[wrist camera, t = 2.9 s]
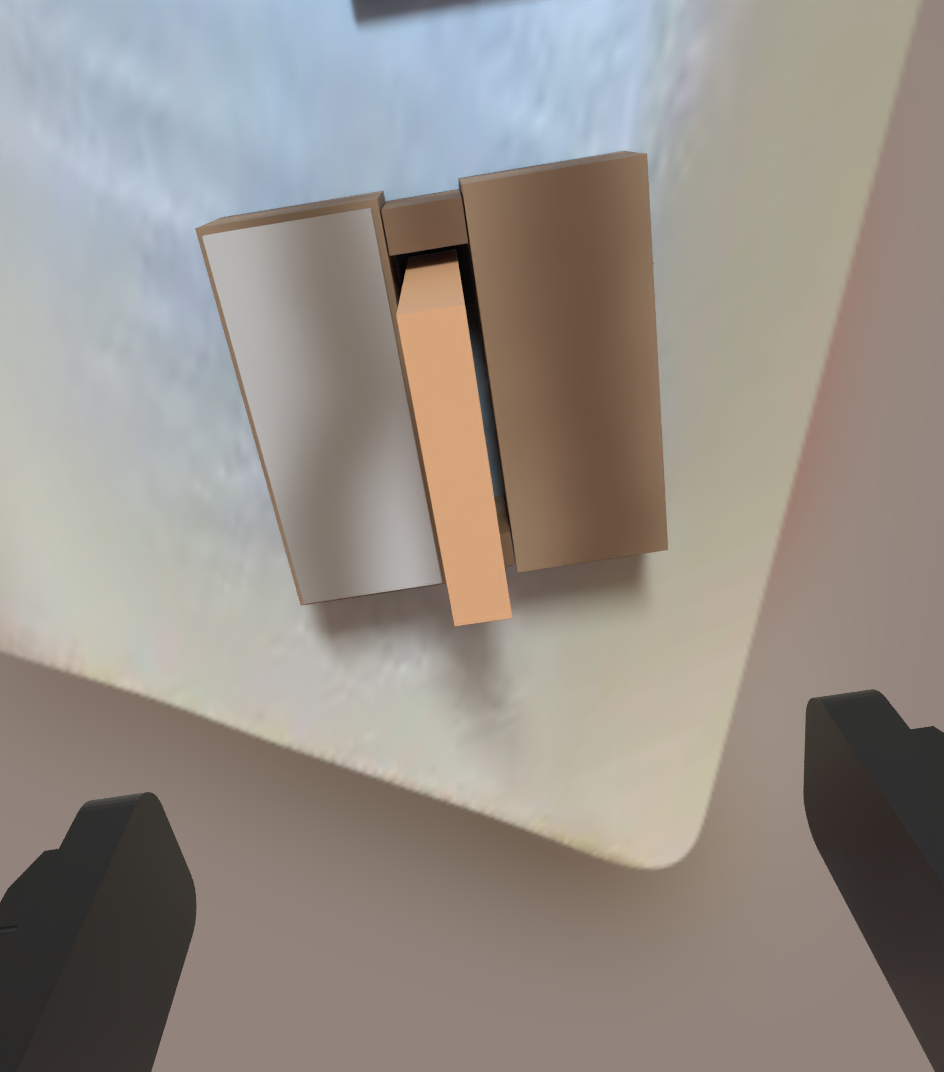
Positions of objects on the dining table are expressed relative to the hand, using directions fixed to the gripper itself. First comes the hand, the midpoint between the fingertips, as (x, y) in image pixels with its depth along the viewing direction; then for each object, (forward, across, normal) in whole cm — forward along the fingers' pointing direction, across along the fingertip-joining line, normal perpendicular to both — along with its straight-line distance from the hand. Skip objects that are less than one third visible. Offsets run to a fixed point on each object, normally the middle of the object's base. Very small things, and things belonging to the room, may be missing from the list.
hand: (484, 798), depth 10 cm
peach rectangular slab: (+20, 0, 0) cm, 20 cm away
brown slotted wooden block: (+20, 0, 0) cm, 20 cm away
